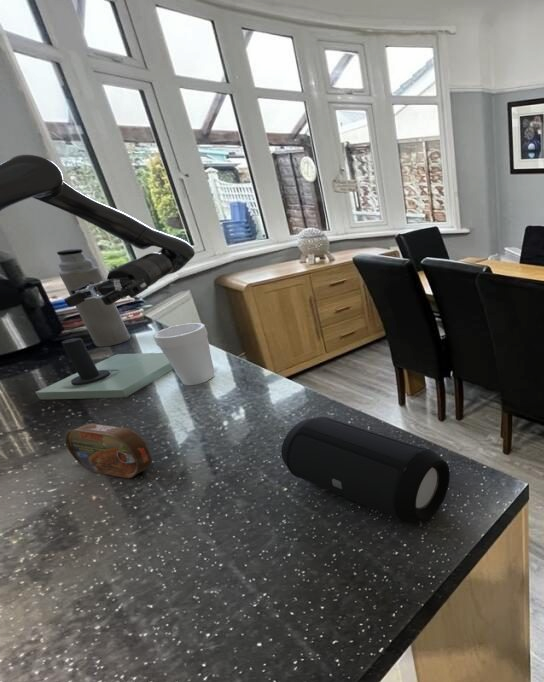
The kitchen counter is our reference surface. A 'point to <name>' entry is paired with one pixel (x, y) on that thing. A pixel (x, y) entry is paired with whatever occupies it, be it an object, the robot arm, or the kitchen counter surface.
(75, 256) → the thermos bottle
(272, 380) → the kitchen counter surface
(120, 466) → the tin
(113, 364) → the plate
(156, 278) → the robot arm
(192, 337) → the foam cup
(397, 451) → the portable speaker
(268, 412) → the kitchen counter surface
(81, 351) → the stopper
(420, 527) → the kitchen counter surface
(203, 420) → the kitchen counter surface
